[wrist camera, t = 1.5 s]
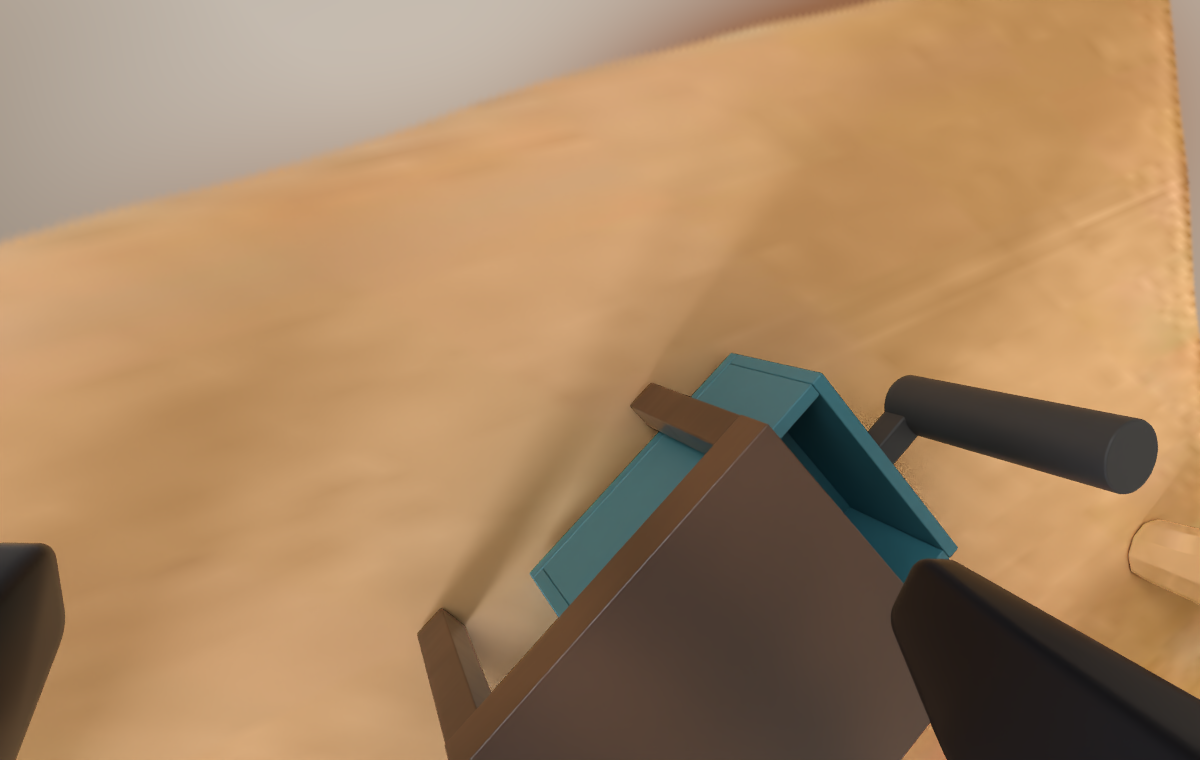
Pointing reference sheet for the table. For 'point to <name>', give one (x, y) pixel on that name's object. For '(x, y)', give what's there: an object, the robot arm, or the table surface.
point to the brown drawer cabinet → (703, 628)
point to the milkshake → (1168, 557)
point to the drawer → (859, 459)
